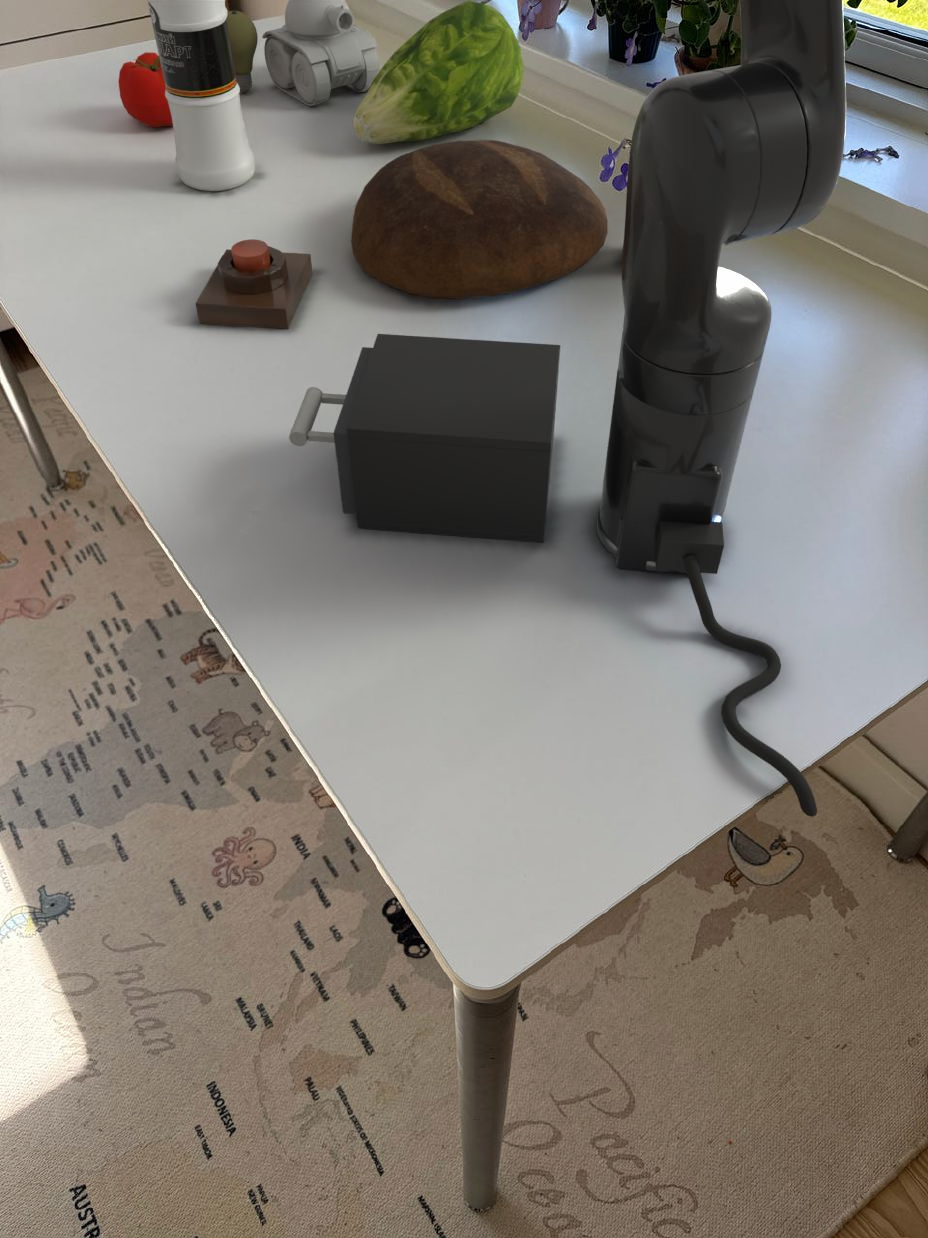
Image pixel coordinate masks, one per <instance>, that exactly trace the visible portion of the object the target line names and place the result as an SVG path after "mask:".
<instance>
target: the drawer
mask: <svg viewBox="0 0 928 1238" xmlns="http://www.w3.org/2000/svg"><path fill="white" fill-rule="evenodd" d="M372 350H373V347H369V346H368V347H367V346H362V347H361V350H360V353H359V356H358V359H357V361H356V365H355V367H354V371H353V374H352V376H351V380H350V383H349V385H348V388H347V391H346V394H341V393H326V392H323V391H322V390H321V389H320V388H319V387H316V386H311V387H308V388H307V390H306V391H305V394H304V396H303V399H302V401H301V404H300V406H299V409H298V412H297V415H296V417H295V419H294V422H293V425H292V427H291V430H290V432H289V435H288V439H289V442H290V443H291V444H292V445H294V446H296V447H304V446H306V444H307V443H308V442H314V443H316V442H317V443H329V444H332V443H333V444H334V449H335V450H334V451H335V458H336V459H335V460H336V465H337V466H336V467H337V473H338V483H339V491H340V499H341V507H342V513H343V514H347V515H356V509H355V499H354V490H353V481H352V472H351V463H350V454H349V444H348V436H347V426H348V423H349V420H350V417H351V414H352V411H353V408H354V405H355V402H356V399H357V396H358V393H359V389H360V386H361V383H362V380H363V377H364V374H365V371H366V368H367V365H368V362H369V359H370V356H371V353H372ZM322 404H327V405H341V409H340V411H339V415H338V417H337V421H336V424H335V426H334V429H333V432H332V431H331V432H330V431H316V430H312V429H313V427H314V424H315V421H316V418H317V415H318V413H319V411H320V407H321V405H322Z"/></svg>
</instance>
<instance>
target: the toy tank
mask: <svg viewBox="0 0 928 1238" xmlns="http://www.w3.org/2000/svg"><path fill="white" fill-rule="evenodd" d="M347 3H348V2H347V1H346V0H288V1H287V4H286V7H285V11H284V25H282V26H281V27H279V28H274V29H270V30H266V31H265V32H263V34H262V36H261V38H262V39H263V40H264V39H265V42H264V46H263V47H264V48H263V49H264V51H263V53H264V61H265V64H266V68H267V71H268V74H269V76H270V78H271V80H272V82H273V83H274V85H275V86H276V87H277V88H278V89H279V90H280V91H282V92H284V93H286V94H287V95H289V96H291V97H293V98H294V99H296V100H298V101H300V102H301V103H303V104H304V105H306V106H308V107H311V106H312V107H313V106H317V105H320V104H323V103H325V102H327V101H328V100H329V99H330V95H331V90H332V89H335V88H339V87H343V86H345V87H346V88H348V89H351V90H352V91H354V92H356V93H362V92H366V91H367V92H368V91H369V88H370V86H371V84H372V82H373V80H374V79H375V77H376V76H377V74H378V73H379V71H380V70H381V68H380V61H379V56H378V52H377V50H376V48H378V47H379V45H378V43H377V41H376V39H375V38H374V35H372V34H371V33H370V32H369V31H368V30H367V29H365V28H362V27H361V26H358V25H357V24H355V16H354V13H353V12H352V11H351V10H350V8H349V4H347Z"/></svg>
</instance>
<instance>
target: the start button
mask: <svg viewBox="0 0 928 1238" xmlns="http://www.w3.org/2000/svg"><path fill="white" fill-rule="evenodd" d="M268 246H269V244H267V243H266V242H265V241H263V240H260V239H256V238H255V239H251V238H250V239H244V240H240V241H237V242H235V243H234V244H233V245H232V246H231V249H230V250H231V252H232V257H233V263H234V267H235V269H237V270H239V271H247V272H253V271H258V270H263V269H265V268H267V267H268V266H270V263H271V262H270V256H269V249H268Z"/></svg>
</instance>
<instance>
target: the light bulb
mask: <svg viewBox="0 0 928 1238" xmlns="http://www.w3.org/2000/svg"><path fill="white" fill-rule="evenodd" d="M226 19H227V25H228V32H229V38H230V44H231V51H232V57H233V63H234V70H235V76H236V82H237V83H238V85H239V87H240V92H239V93H242V94H247V93H248V92H249V91H250V89H251V88H253V79H252V72H253V68H254V65H253V64H254V57H255V54H256V50H257V47H258V38H259V37H258V36H259V35H258V31H257V28H256V25H255V23H254V22H253V21H252V19H251V18H250V17H249V16H248V15H247V14H245V13H244V12H242V11H239V10H227V17H226Z"/></svg>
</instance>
